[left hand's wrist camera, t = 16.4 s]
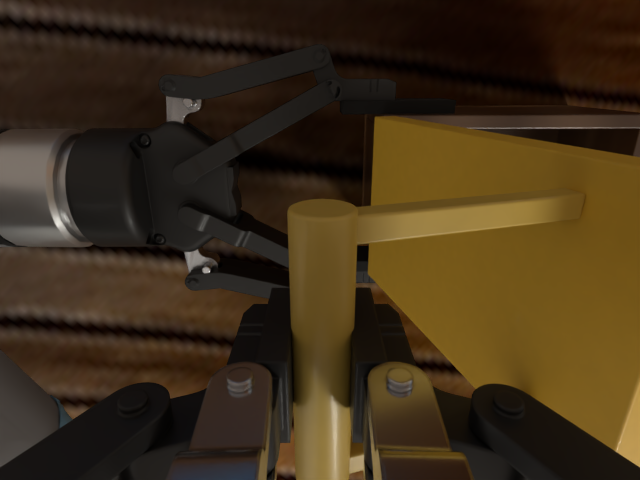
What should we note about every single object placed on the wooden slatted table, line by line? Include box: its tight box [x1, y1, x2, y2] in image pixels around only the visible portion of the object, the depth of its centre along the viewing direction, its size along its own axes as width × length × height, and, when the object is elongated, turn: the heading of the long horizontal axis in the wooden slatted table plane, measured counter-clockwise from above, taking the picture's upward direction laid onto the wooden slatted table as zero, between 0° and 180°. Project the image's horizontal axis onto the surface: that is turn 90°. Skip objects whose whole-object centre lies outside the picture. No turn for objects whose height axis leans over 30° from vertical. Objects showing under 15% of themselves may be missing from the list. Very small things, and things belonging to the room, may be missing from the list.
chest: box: [362, 105, 640, 246], centre depth 29 cm, size 15×9×9 cm, turn 90°
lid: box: [287, 116, 640, 480], centre depth 16 cm, size 16×9×9 cm
